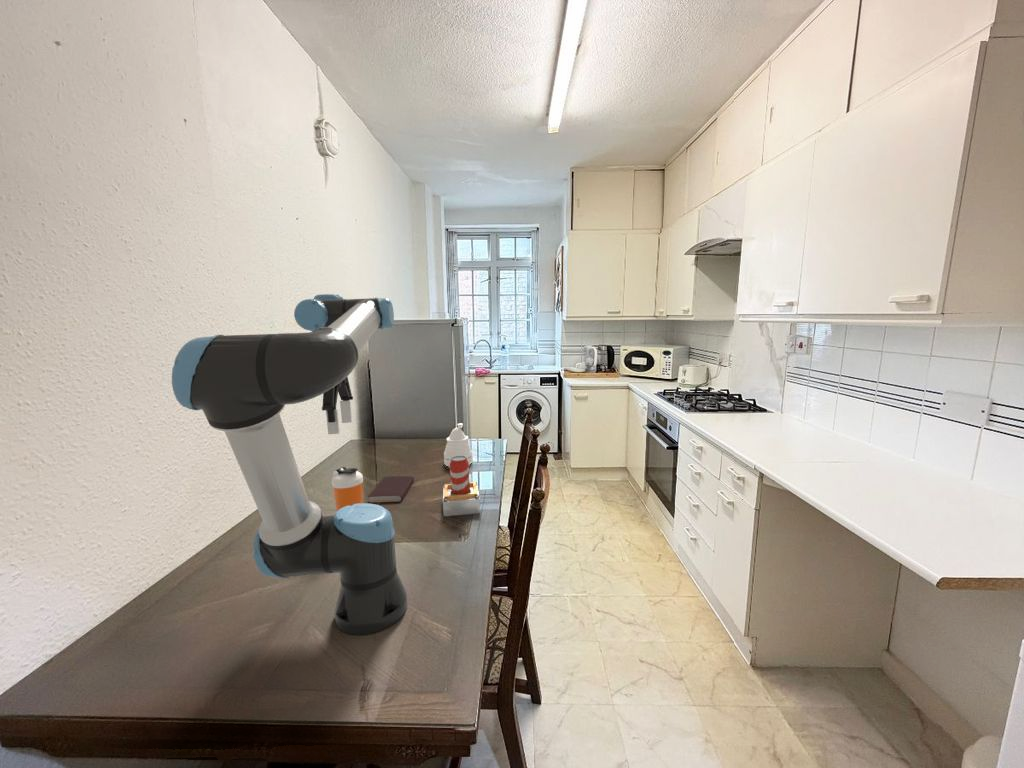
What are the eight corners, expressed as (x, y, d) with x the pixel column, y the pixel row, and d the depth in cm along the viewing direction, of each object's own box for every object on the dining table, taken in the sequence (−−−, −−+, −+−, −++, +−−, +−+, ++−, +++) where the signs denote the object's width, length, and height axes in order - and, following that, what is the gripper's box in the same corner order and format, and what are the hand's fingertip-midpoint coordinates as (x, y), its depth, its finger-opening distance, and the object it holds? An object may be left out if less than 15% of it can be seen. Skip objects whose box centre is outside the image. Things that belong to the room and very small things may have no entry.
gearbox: (480, 512, 140) (479, 495, 139) (443, 516, 139) (442, 498, 138) (477, 496, 154) (476, 480, 153) (444, 499, 152) (443, 483, 151)
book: (414, 483, 171) (414, 475, 171) (402, 502, 152) (401, 494, 151) (383, 484, 171) (383, 476, 171) (367, 504, 152) (366, 495, 152)
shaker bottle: (357, 539, 125) (351, 474, 123) (330, 537, 127) (324, 473, 125) (372, 525, 134) (367, 464, 131) (347, 523, 136) (341, 463, 133)
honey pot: (462, 457, 201) (460, 420, 199) (478, 463, 191) (476, 424, 189) (439, 463, 193) (436, 425, 191) (454, 470, 183) (451, 429, 181)
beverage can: (449, 495, 143) (447, 461, 141) (454, 487, 149) (453, 455, 147) (466, 495, 142) (464, 461, 140) (471, 488, 148) (469, 455, 146)
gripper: (335, 354, 104) (343, 438, 107) (358, 349, 128) (364, 417, 131) (303, 355, 103) (312, 440, 106) (332, 350, 127) (339, 419, 130)
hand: (340, 427), depth 119 cm, fingers open, 13 cm apart
